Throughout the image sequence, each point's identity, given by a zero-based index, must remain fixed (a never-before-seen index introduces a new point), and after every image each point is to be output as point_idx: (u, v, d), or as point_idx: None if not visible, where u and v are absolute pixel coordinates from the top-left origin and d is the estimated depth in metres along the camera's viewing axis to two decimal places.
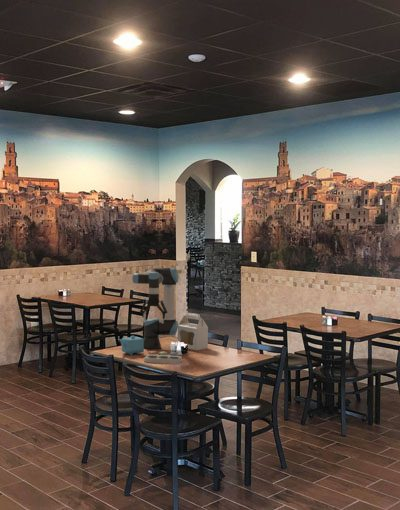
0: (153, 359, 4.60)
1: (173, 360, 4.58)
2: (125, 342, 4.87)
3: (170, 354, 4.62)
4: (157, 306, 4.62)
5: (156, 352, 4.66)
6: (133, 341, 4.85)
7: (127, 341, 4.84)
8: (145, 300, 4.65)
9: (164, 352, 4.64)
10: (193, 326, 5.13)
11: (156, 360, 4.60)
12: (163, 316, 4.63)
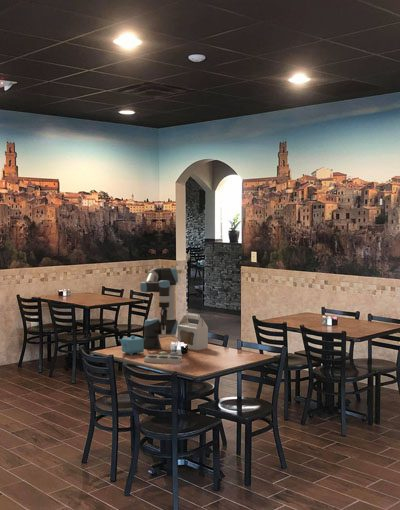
0: (153, 359, 4.60)
1: (173, 360, 4.58)
2: (125, 342, 4.87)
3: (170, 354, 4.62)
4: None
5: (156, 352, 4.66)
6: (133, 341, 4.85)
7: (127, 341, 4.84)
8: None
9: (164, 352, 4.64)
10: (193, 326, 5.13)
11: (156, 360, 4.60)
12: (162, 327, 4.64)
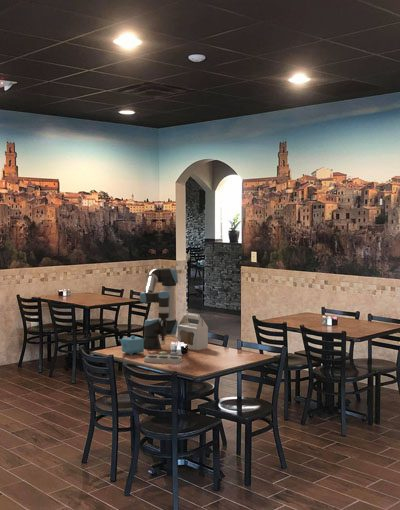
0: (153, 359, 4.60)
1: (173, 360, 4.58)
2: (125, 342, 4.87)
3: (170, 354, 4.62)
4: None
5: (156, 352, 4.66)
6: (133, 341, 4.85)
7: (127, 341, 4.84)
8: None
9: (164, 352, 4.64)
10: (193, 326, 5.13)
11: (156, 360, 4.60)
12: (161, 338, 4.63)
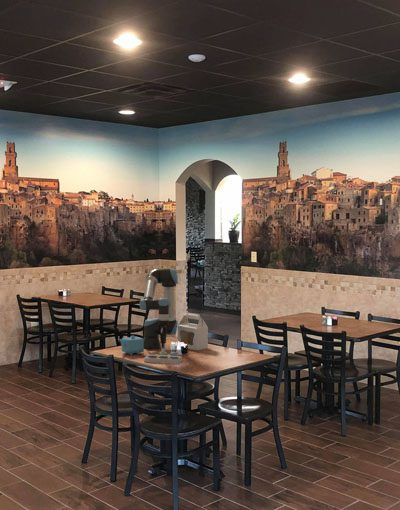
0: (153, 359, 4.60)
1: (173, 360, 4.58)
2: (125, 342, 4.87)
3: (170, 354, 4.62)
4: None
5: (156, 352, 4.66)
6: (133, 341, 4.85)
7: (127, 341, 4.84)
8: None
9: (164, 352, 4.64)
10: (193, 326, 5.13)
11: (156, 360, 4.60)
12: (161, 345, 4.64)
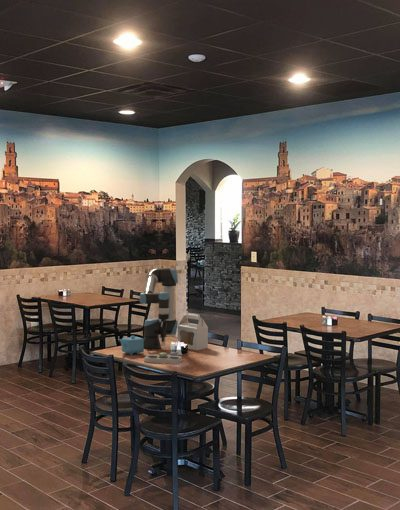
0: (153, 359, 4.60)
1: (173, 360, 4.58)
2: (125, 342, 4.87)
3: (170, 354, 4.62)
4: None
5: (156, 352, 4.66)
6: (133, 341, 4.85)
7: (127, 341, 4.84)
8: None
9: (164, 353, 4.64)
10: (193, 326, 5.13)
11: (156, 360, 4.60)
12: (161, 339, 4.64)
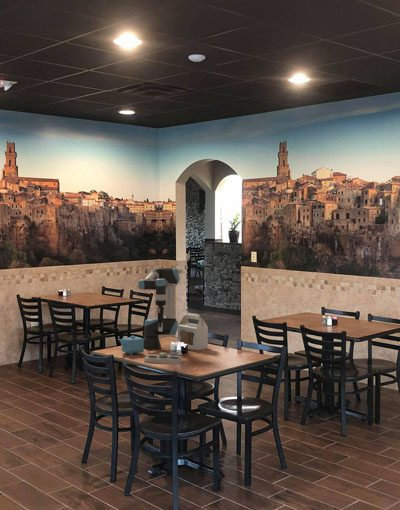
0: (153, 359, 4.60)
1: (173, 360, 4.58)
2: (125, 342, 4.87)
3: (170, 354, 4.62)
4: None
5: (156, 352, 4.66)
6: (133, 341, 4.85)
7: (127, 341, 4.84)
8: None
9: (164, 353, 4.64)
10: (193, 326, 5.13)
11: (156, 360, 4.60)
12: (159, 325, 4.73)
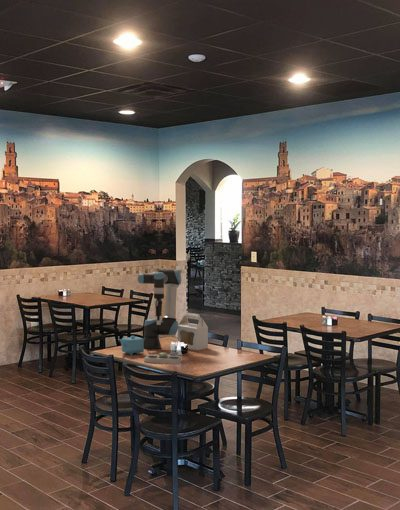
0: (153, 359, 4.60)
1: (173, 360, 4.58)
2: (125, 342, 4.87)
3: (170, 354, 4.62)
4: None
5: (156, 352, 4.66)
6: (133, 341, 4.85)
7: (127, 341, 4.84)
8: None
9: (164, 353, 4.64)
10: (193, 326, 5.13)
11: (156, 360, 4.60)
12: (157, 318, 4.78)
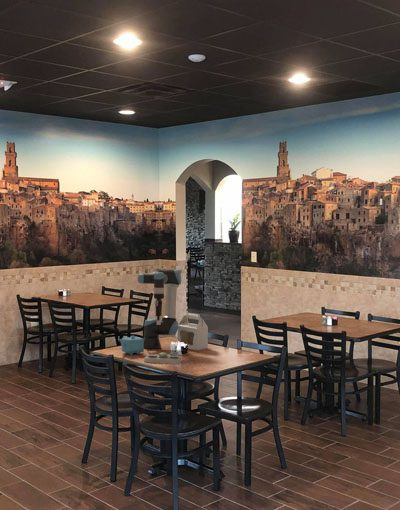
0: (153, 359, 4.60)
1: (173, 360, 4.58)
2: (125, 342, 4.87)
3: (170, 354, 4.62)
4: None
5: (156, 352, 4.66)
6: (133, 341, 4.85)
7: (127, 341, 4.84)
8: None
9: (164, 353, 4.64)
10: (193, 326, 5.13)
11: (156, 360, 4.60)
12: (157, 318, 4.78)
